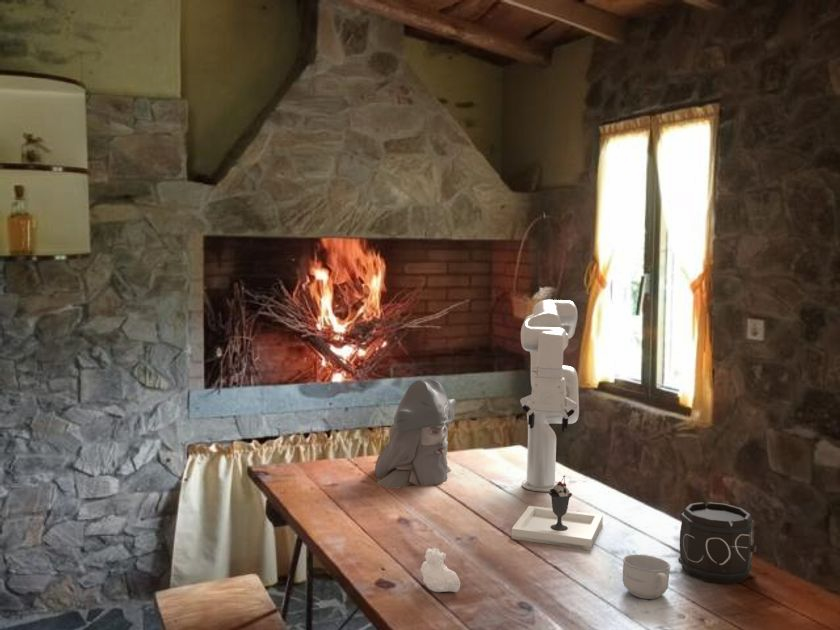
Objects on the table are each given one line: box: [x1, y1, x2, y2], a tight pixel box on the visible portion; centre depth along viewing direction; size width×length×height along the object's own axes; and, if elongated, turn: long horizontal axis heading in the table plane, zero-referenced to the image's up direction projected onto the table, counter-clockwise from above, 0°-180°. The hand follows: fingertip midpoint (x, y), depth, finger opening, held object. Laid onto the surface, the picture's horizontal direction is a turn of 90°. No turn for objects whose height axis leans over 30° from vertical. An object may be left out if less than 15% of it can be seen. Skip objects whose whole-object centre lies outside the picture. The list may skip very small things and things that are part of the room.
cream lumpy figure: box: [419, 547, 461, 593], centre depth 198 cm, size 12×8×11 cm
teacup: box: [622, 554, 671, 600], centre depth 196 cm, size 14×11×8 cm
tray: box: [511, 505, 604, 551], centre depth 240 cm, size 22×22×3 cm
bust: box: [374, 378, 457, 489], centre depth 292 cm, size 34×34×35 cm
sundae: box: [548, 475, 573, 531], centre depth 239 cm, size 7×7×15 cm
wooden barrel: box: [678, 501, 758, 586], centre depth 211 cm, size 18×18×16 cm
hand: (547, 428), depth 251 cm, fingers open, 9 cm apart
